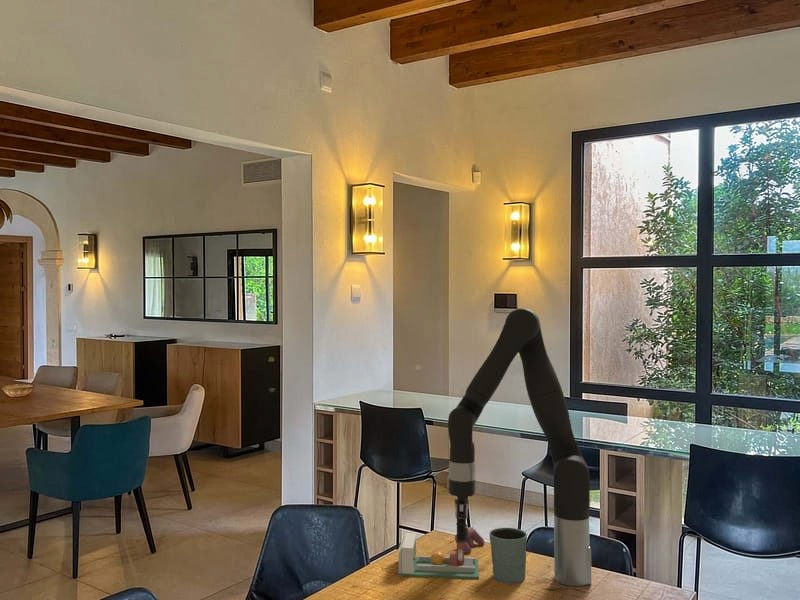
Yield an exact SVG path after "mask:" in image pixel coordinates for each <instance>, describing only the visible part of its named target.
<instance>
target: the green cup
mask: <svg viewBox="0 0 800 600" xmlns="http://www.w3.org/2000/svg"><path fill="white" fill-rule="evenodd" d="M527 538H528V534H527V532H525V531H524V530H522V529H519V528H515V527H500V528H499V527H498V528H494V529H492V530H490V531H489V541H490V550H491V554H490V555H491V563H492V575H493V579H494V580H495V581H497V582H499V583H502V584H505V585H506V584H507V585H508V584H509V585H514V584H521V583H522V582H525V580H526V571H527V569H526V567H527V565H526V563H527V543H528V542H527V541H528V539H527Z"/></svg>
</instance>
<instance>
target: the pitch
mask: <svg viewBox="0 0 800 600" xmlns="http://www.w3.org/2000/svg"><path fill="white" fill-rule="evenodd" d="M430 558H431V555H418V556H416V559H413V574H404V573H399V571H398V572H397V576H398V577H415V578H416V577H418V578H440V579H441V578H442V579H446V578H447V579H464V580H466V579H468V580H480V573H479V558H478V559H477V558H475V557H468V556H466V557H465V556H464V559H472V560H473V566H450V556H444V558H445V560H444V563H443V565H433V564H432V563H431V560H430Z"/></svg>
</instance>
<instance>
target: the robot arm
mask: <svg viewBox="0 0 800 600" xmlns="http://www.w3.org/2000/svg"><path fill="white" fill-rule="evenodd" d="M518 354H519V357H520V360H521V363H522V370H523V378H524V382H525V383H524V384H525V388H526V392H527V395H528V398H529V401H530V405H531V408H532V411H533V414H534V416H535V418H536V420H537V422H538V425H539V426H540V428H541V431H542V432H543V434H544V435H545V438H546V441H547V444H548V447H549V451H550V456H551V460H552V466H553V536H554V537H553V539H554V540H553V542H554V543H553V544H554V546H553V547H554V548H553V550H554V551H553V554H554V557H553V558H554V561H553V563H554V566H553V567H554V569H553V571H554V572H553V573H554V580H555V581H556V582H558V583H559V584H562V585H564V586H570V587H583V586H587V585H592V548H591V546H590V507H591V504H590V503H591V501H590V495H591V492H590V488H591V487H590V486H591V483H590V479H591V478H590V472H589V471H590V470H589V468H588V464H587V462H586V461H585V458H584V457H583V454H582V452H581V451H580V448H579V445H578V443H577V440H576V438H575V436H574V433H573V429H572V423H571V417H570V414H569V413H570V412H569V409H568V405H567V401H566V398H565V395H564V392H563V389H562V386H561V383H560V381H559V378H558V375H557V374H556V371H555V369H554V367H553V364H552V362H551V360H550V357H549V355H548V352H547V350H546V346H545V342H544V338H543V333H542V328H541V321H540V319H539V316H538V315H537V313H535V312H534V310H532V309H529V308H523V307H521V308H516V309H513V310H512V311H510V312H509V313H508V315H507V316H506V318H505V321H504V325H503V327H502V330H501V332H500V335H499V336H498V339H497V341H496V343H495V345H494V346H493V348H492V350H491V351H490V352H489V354H488V356H487V357H486V358H485V360H484V362H483V363H482V365H481V366H480V368H479V369H478V370H477V372H476V374H475V375H474V376H473V378H472V380H471V382H470V383H469V385H468V386H467V387H466V390H465V394H464V396H463V397H462V398H461V400H460V401H459V403H458V405H456V407H454V408H453V409H452V410H451V411H450V413H449V415H448V419H447V431H448V439H449V464H448V494H449V495H450V496H453V497H457V498H454V509H455V511H454V512H455V514H454V515H455V519H456V523H455V525H456V534H457V539H458V540H463V541H464V540H465V527H466V525H467V519H468V515H469V514H468V512H469V511H468V510H469V509H470V508H469V507H470V506H469V503H470V502H469V501H470V499H467V498H468V497H469V498H470V497H473V496H474V495H475V494H476V463H475V461H476V460H475V459H476V458H475V456H476V455H475V454H476V450H475V443H474V442H473V428H474V426H475V424H476V423H477V421H478V419H479V418H480V416H481V415H482V413H483V410H484V408H485V407H486V405H487V404H488V403H489V401H490V400H491V398H492V397H493V396H494V394H495V392H496V390H497V389H498V387H499V386H500V384H501V382H502V380H503V379H504V376H505V374H506V373H507V371H508V369H509V367H510V365H511V363H512V362H513V361H514V359H515V358H516V356H517V355H518Z"/></svg>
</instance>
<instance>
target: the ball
mask: <svg viewBox="0 0 800 600" xmlns="http://www.w3.org/2000/svg"><path fill="white" fill-rule="evenodd" d="M430 556H431V558H430V560H431V563H432V564H433V565H443V563H444V560H445V558H444V557H445V555H444V554H443V553H442V552H441V551H438V550H437V551H434V552H432V553H431V555H430Z"/></svg>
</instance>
